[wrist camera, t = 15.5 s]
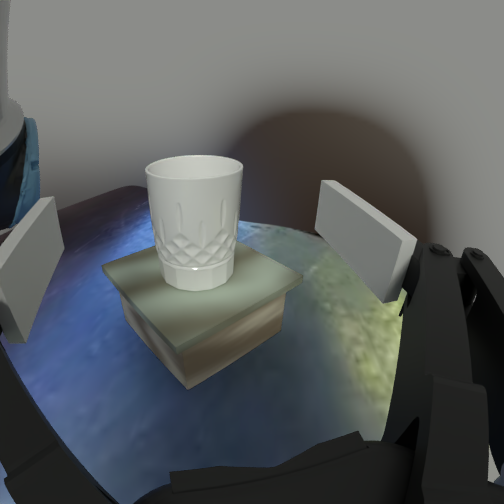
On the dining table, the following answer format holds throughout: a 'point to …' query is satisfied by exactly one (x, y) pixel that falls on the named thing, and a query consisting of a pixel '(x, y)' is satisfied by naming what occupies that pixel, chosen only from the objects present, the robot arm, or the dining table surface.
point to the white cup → (195, 218)
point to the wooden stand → (202, 311)
